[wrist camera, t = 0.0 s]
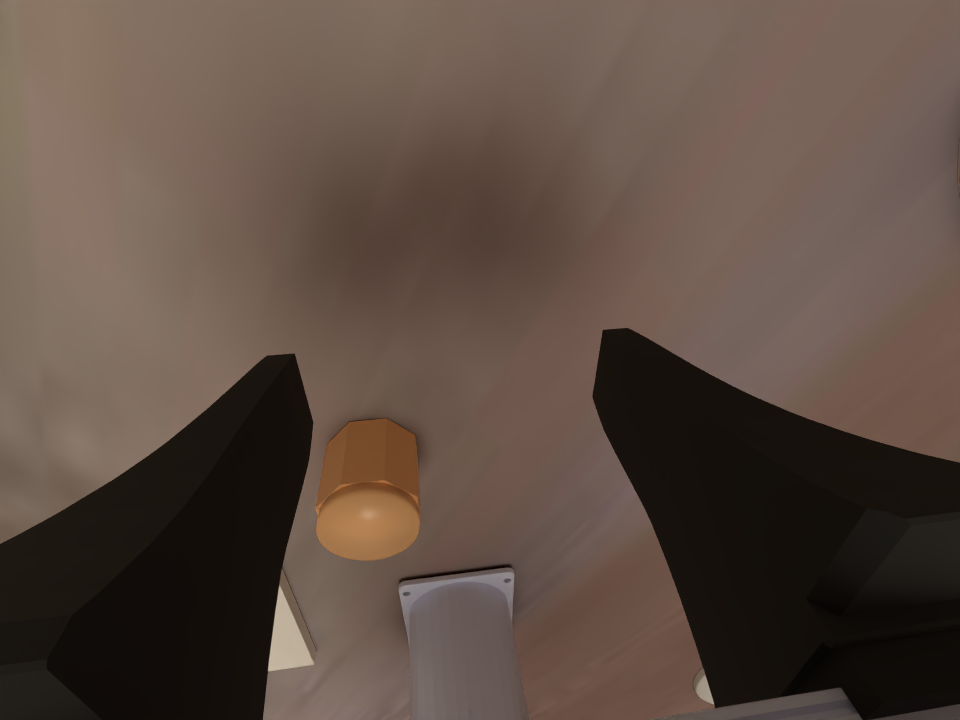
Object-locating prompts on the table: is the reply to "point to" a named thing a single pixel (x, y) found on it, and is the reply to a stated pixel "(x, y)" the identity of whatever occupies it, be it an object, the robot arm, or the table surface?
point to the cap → (369, 491)
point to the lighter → (959, 168)
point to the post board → (289, 633)
